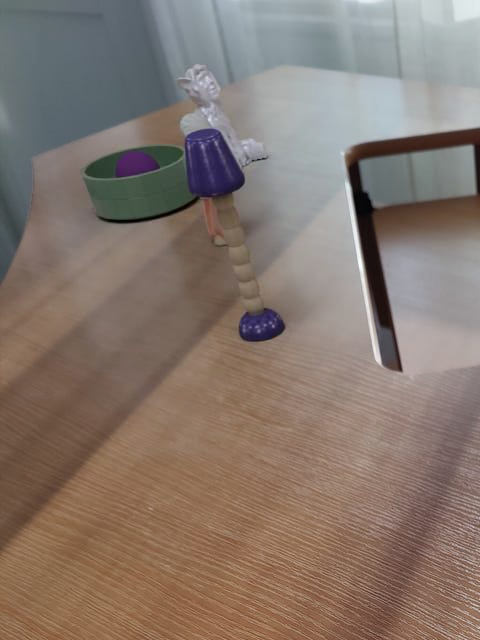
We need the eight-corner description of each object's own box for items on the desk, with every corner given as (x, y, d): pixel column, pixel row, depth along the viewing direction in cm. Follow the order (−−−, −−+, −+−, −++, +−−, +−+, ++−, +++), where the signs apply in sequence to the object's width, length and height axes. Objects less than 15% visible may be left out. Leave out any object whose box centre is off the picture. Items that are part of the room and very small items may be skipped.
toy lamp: (288, 337, 80) (234, 134, 68) (237, 348, 79) (174, 146, 67) (281, 316, 83) (229, 119, 71) (233, 327, 82) (172, 130, 70)
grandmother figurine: (214, 230, 102) (177, 106, 93) (247, 225, 102) (213, 101, 93) (207, 255, 96) (166, 126, 87) (241, 250, 96) (204, 121, 87)
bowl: (91, 231, 106) (73, 187, 102) (102, 196, 115) (86, 155, 112) (199, 212, 107) (186, 167, 103) (201, 179, 116) (189, 138, 113)
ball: (123, 211, 108) (105, 162, 104) (127, 196, 112) (110, 149, 108) (168, 203, 109) (152, 154, 105) (170, 189, 113) (155, 141, 109)
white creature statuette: (236, 179, 114) (208, 74, 106) (181, 179, 117) (149, 76, 109) (271, 156, 121) (246, 54, 112) (218, 156, 123) (189, 56, 115)
